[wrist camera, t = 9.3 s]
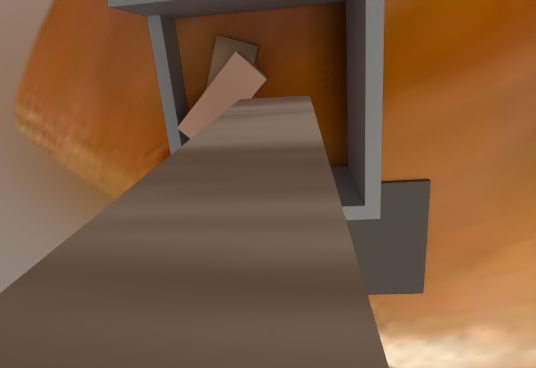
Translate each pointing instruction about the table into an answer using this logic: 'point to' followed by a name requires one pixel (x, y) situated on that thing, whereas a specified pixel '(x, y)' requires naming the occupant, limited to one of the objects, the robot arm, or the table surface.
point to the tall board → (207, 262)
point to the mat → (394, 239)
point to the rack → (358, 84)
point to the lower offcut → (229, 54)
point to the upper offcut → (224, 93)
